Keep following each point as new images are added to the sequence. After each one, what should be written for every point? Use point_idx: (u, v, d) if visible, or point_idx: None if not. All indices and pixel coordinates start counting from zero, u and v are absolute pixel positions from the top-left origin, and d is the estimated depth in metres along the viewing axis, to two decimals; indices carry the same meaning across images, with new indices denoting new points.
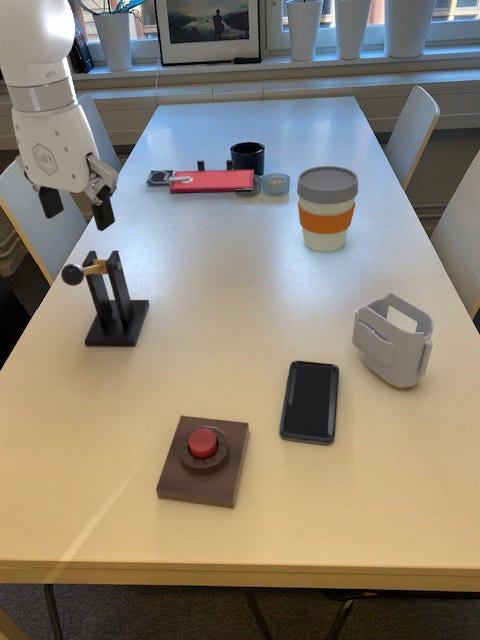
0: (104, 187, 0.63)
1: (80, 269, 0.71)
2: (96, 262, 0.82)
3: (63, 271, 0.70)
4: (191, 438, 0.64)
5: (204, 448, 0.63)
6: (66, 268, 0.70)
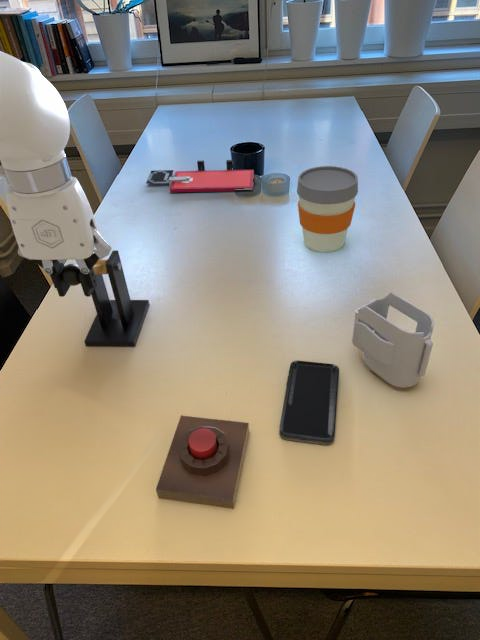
0: (92, 256, 0.68)
1: None
2: None
3: (63, 271, 0.70)
4: (191, 438, 0.64)
5: (204, 448, 0.63)
6: (66, 268, 0.70)
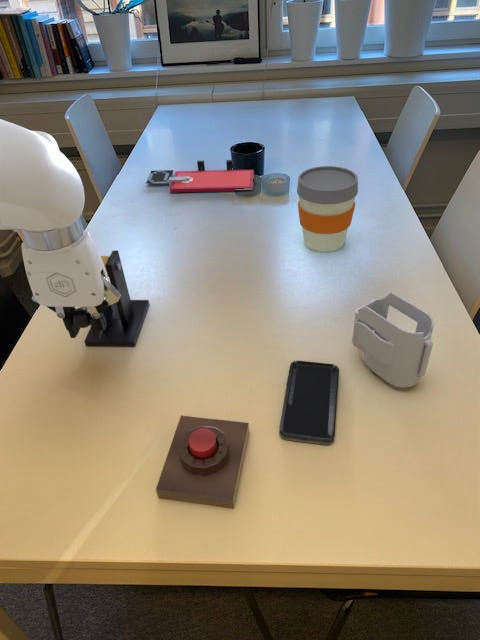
0: (102, 303, 0.72)
1: (89, 315, 0.74)
2: None
3: (73, 320, 0.74)
4: (191, 438, 0.64)
5: (204, 448, 0.63)
6: (76, 318, 0.73)
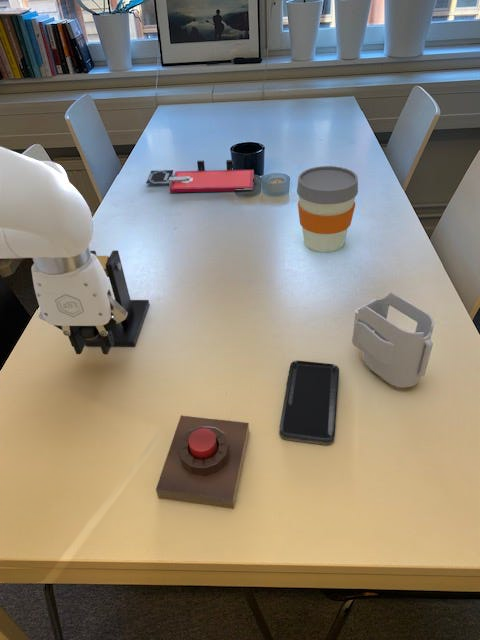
0: (111, 321, 0.75)
1: (95, 328, 0.77)
2: None
3: (81, 335, 0.77)
4: (191, 438, 0.64)
5: (204, 448, 0.63)
6: (83, 333, 0.76)
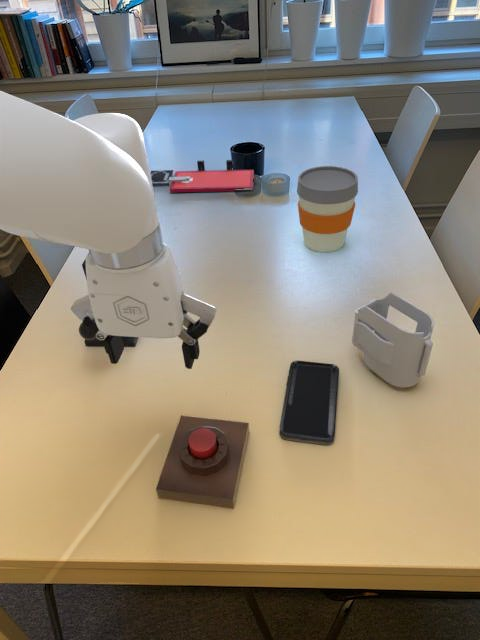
0: (201, 326, 0.56)
1: None
2: None
3: (81, 335, 0.77)
4: (191, 438, 0.64)
5: (204, 448, 0.63)
6: (83, 333, 0.76)
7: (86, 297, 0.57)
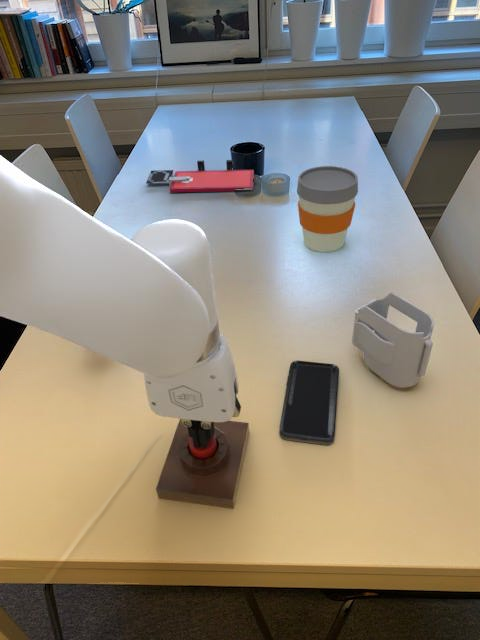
0: None
1: None
2: None
3: None
4: (191, 438, 0.64)
5: (204, 448, 0.63)
6: None
7: None
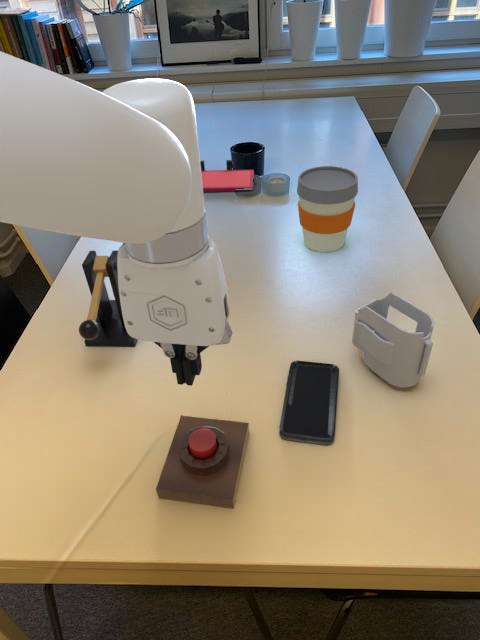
0: None
1: (95, 328, 0.77)
2: (96, 270, 0.82)
3: (81, 335, 0.77)
4: (191, 438, 0.64)
5: (204, 448, 0.63)
6: (83, 333, 0.76)
7: None
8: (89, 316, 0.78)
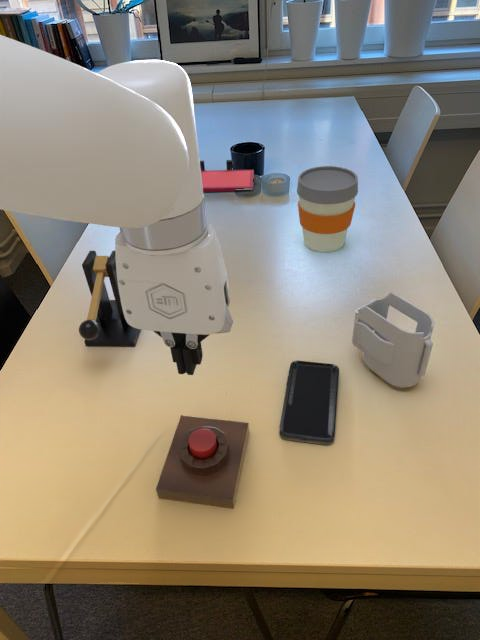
0: None
1: (95, 328, 0.77)
2: (96, 270, 0.82)
3: (81, 335, 0.77)
4: (191, 438, 0.64)
5: (204, 448, 0.63)
6: (83, 333, 0.76)
7: None
8: (89, 316, 0.78)
